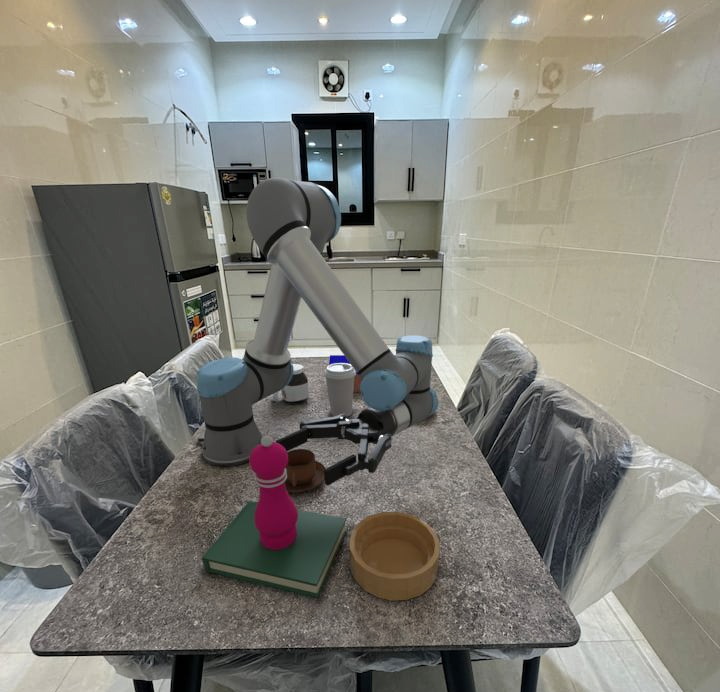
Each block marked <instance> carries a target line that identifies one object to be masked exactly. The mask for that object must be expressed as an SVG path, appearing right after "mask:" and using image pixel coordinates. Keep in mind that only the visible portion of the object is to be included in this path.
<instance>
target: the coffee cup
mask: <svg viewBox="0 0 720 692" xmlns="http://www.w3.org/2000/svg"><path fill="white" fill-rule="evenodd" d="M355 375H356V371H355V369H354V368H353V366H352V365H351V364H347V363H335V364H331V365H329V364H328V365H327V366H326V368H325V370H324V373H323V376H324V377H325V381H326V387H327V394H328V400H329V401H328V403H329V408H330V414H331V417H334V416H337V415H340V414H346V418H348V417H349V416H351V415H352V414H353V405H354V404H353V403H354V392H353V390H354V376H355Z"/></svg>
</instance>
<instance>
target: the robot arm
mask: <svg viewBox="0 0 720 692" xmlns="http://www.w3.org/2000/svg"><path fill="white" fill-rule="evenodd" d="M245 214H246V222H247V227H248V230H249V232H250V235H251V236H252V239H253V241H254V242H255V243H254V244H255V245H256V246H257V248H258V249H259V251H260V252H261V254H262V255H263V257H264V258H265V259H266V261H267V262H268V263H269V264H271V266H270V270H269V274H268V279H267V283H266V287H265V290H264V294H263V295H264V296H263V299H262V302H261V303H262V304H261V308H260V313H259V316H258V320H257V325H256V329H255V334H254V338H253V339H251V340H249V341H248V342H247V343H246V345H245V350H244V353H243V357H242V358H240V357H235V356H231V357H223V358H221V359H220V358H219V359H214V360H212V361H209V362H207V363H206V364H203V365H202V366H201V367H200V368H199V369H198V371H197V372H196V379H195V380H196V391H197V394H198V396H199V402H200V406H201V411H202V416H203V421H204V422H203V423H204V426H205V427H204V428H205V431H204V437H202V438H199V437H198V438H197V442H202V448H201V449H202V450H201V451H202V456H203V459H204V461H205V462H207V463H208V464H210V465H213V466H219V467H233V466H238V465H242V464H245V463H248V462H249V457H250V454H251V452H252V450H253V449H254V448H255V447H256V446H257V445H259V444H261V439H262V437H264V435H263V434H262V433H261V431H260V429H259V427H258V425H257V423H256V421H255V418H254V411H253V405H254V404H256V403H259V402H260V401H262V400H264V399H266V398H268V397H269V396H273V394H274V393H276V392H278V391H279V392H280V391H281V389H283V388H284V387H285V386H286V385H287V384H288V383H289V382H290V381H291V379H292V376H293V365H292V364H293V363H292V362H293V360H292V358H291V357H292V355H291V353H290V351H289V350H288V347H289V343H290V340H291V337H292V334H293V330H294V326H295V323H296V320H297V316H298V313H299V310H300V306H301V303H302V300H303V302H304V303H305V304H306V305H307V307H308V308H309V310H310V311H311V312H312V314H313V315H314V316H315V318H316V319H317V321H318V322H319V323H320V324H321V326H322V327H323V329H324V330H325V331H326V333H327V334H328V335H329V337H330V338H331V340H332V341H333V343H335V345H336V346H337V348H338V349H339V350H340V352H341V353H342V355H344V356H345V357H346V358H347V360H348V361H349V362H350V364H351V365H352V366H353V368H354V369H355V370H356V372H357V373H358V375H359V376H360V377H361V379H362V382H361V385H360V391H361V392H360V395H361V398H362V400H363V402H364V404H366V406H368V407H366V408H364V409H363V410H361V411H360V412H359V414H358V416H357V417H355V418H351V419H348V417H346V414H340V415H337V416H328V417H322V418H321V417H320V418H315V419H310V420H303V421H300V422H299V429H298V430H296V431H294V432H292V433H289V434H288V435H285V436H283V437H281V438H278V439H276V440H275V442H276V443H279V444H280V445H282V446H283V447H284V448H285V449H286V451H287V452H289V451H291V450H294V449H296V448H297V447H300V446H302V445H304V444H306V443H308V442H309V440H317V439H333V438H335V439H338V440H347V441H350V442H352V443H353V444H354V445H359V448H358V452H357V455H355V454H354V453H353V454H350V455H348V457H346V458H343V459H341V460H340V461H338V462H336V463H333V464H332V465H330V466H328V467H325V468H326V469H324V481H323V482H324V485H325V486H327V487H329V486H330V485H332V484H334V483H335V482H337V481H339V480H340V479H343V478H344V477H349V476H352V475H353V474H354V473H356V472H358V471H364V470H367V472H368V473H370V474H373V473H375V472H376V471H377V469H378V467H379V466H380V463H381V461H382V459H383V457H384V455H385V453H386V452H387V451H388V450H389V449H391V448H392V442H393V441H392V440H393V439H392V437H394V436H396V435H397V434H399V433H401V432H403V431H405V430H406V429H408V428H411V427H413V426H414V425H416V424H418V423H421V422H423V421H424V420H428V419H429V418H428V417H429V416H430V415H432V414H433V413H434V414H435V412H436V411H437V410H438V407H439V398H438V396H437V393H436V391H435V390H434V388H432V387H431V378H432V364H433V356H434V353H433V342H432V340H431V339H430V338H428V337H427V336H425V335H424V336H423V335H418V334H417V335H413V334H412V335H411V334H410V335H404V336H400V337H399V338H398V339H397V340H396V346H395V355H394V353H393V351H392V350H391V349H390V347H388V345H387V344H386V343H385V341H384V340H383V338H382V336H381V335H380V334H379V332H378V331H377V330H376V329H375V327H374V326H373V324H372V323H371V322H370V320H369V319H368V317H367V316H366V315H365V313H364V312H363V311H362V309H361V308H360V306H359V305H358V304H357V303H356V301H355V299H354V298H353V297H352V295H351V294H350V293H349V291H348V290H347V288H346V287H345V286H344V284H343V283H342V282H341V280H340V279H339V277H338V276H337V274H336V273H335V272H334V270H333V269H332V268H331V266H330V265H329V264H328V262H327V261H326V260H325V258H324V257H323V253H324V250H325V246H326V244H328V243H329V242H331V241H332V240H333V239H335V237H337V235H338V233H339V231H340V229H341V225H342V213H341V208H340V206H339V203H338V200H337V198H336V197H335V195H334V194H333V193H332V192H331V191H330V190H329V189H328V188H327V187H325V186H322V185H319V184H317V183H314V182H312V181H302V180H295V179H294V180H293V179H287V178H285V177H284V178H283V177H270V178H267V179H264V180H262V181H260V182H259V183H258V184H257V185H256V186H255V187H254V188H253V189H252V190H251V192H250V194H249V196H248V199H247V203H246V212H245ZM279 392H278V393H279ZM434 414H433V415H434ZM427 418H428V419H427ZM342 430H343V433H342ZM369 444H374V445H375V446H374V448H373V449H372V451H371V452H370V454H369V456H368V451H369V450H368V449H369V446H370V445H369Z"/></svg>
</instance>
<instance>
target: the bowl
mask: <svg viewBox="0 0 720 692" xmlns="http://www.w3.org/2000/svg"><path fill="white" fill-rule="evenodd" d="M440 550H441V544H440V540H439V537H438V534H437V532H436V531H435V530H434V529H433V528H432V526H430V524H429V523H427V522H426V521H424V520H423V519H421V517H417V516H415V515H412V514H410V513H406V512H401V511H382V512H379V513H375V514H371V515H369V516H367V517H366V518H364V519H362V520H361V521H359V522H358V523H357V525H356V526H355V527H354V528H353V529H352V532H351V534H350V536H349V563H350V564H349V565H350V566H349V567H350V568H349V569H350V572H351V574H352V576H353V579H354V581H355V582H356V583H357V584H358V585H359V586H360V587H361V588H362V589H363V591H365V592H367V593H369V594H370V595H372V596H374V597H376V598H380V599H384V600H388V601H392V602H393V601H408V600H410V599H413V598H416V597H419V596H422V595H423V594H424V593H425V592H427V591H428V590H429V589H430V588H432V586H433V585H434V582H435V581H436V580H437V577H438V572H439V571H438V570H439V562H440Z"/></svg>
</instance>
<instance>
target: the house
mask: <svg viewBox="0 0 720 692" xmlns="http://www.w3.org/2000/svg"><path fill="white" fill-rule="evenodd" d="M335 363H347V364H350V362H349V361H348V360H347V358H346V357H345V356H344V354H330V355H329V362H328V365H331V364H335ZM355 371H356V370H355ZM361 382H362V379H361V377H360V376H359V375H358V373H357V372H356V375H355V376H354V390H353V393H361V391H360V385H361Z"/></svg>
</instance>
